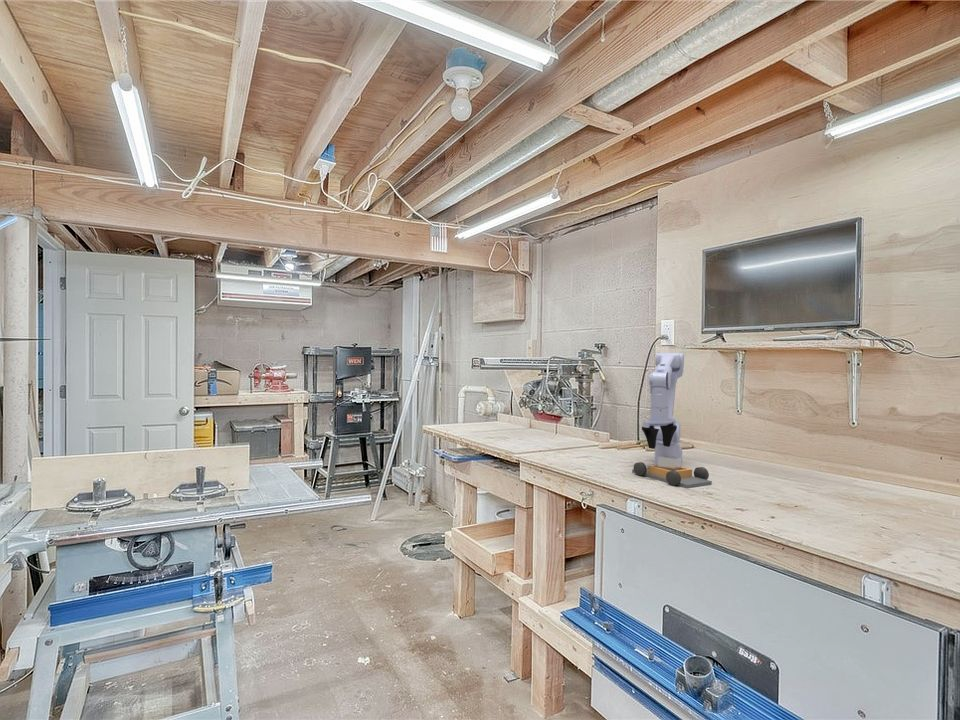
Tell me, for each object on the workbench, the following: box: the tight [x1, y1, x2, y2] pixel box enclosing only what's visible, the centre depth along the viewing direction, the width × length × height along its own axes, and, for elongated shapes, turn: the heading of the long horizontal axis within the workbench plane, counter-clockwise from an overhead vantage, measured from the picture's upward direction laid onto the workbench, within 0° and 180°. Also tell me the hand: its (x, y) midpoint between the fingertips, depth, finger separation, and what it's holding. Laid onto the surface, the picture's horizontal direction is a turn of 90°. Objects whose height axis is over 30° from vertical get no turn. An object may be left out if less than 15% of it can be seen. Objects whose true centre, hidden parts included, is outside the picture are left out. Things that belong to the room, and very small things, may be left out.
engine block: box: [658, 455, 681, 471], centre depth 160 cm, size 4×6×6 cm, turn 45°
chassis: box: [631, 461, 713, 489], centre depth 160 cm, size 14×23×4 cm, turn 27°
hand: (659, 447), depth 165 cm, fingers open, 7 cm apart
